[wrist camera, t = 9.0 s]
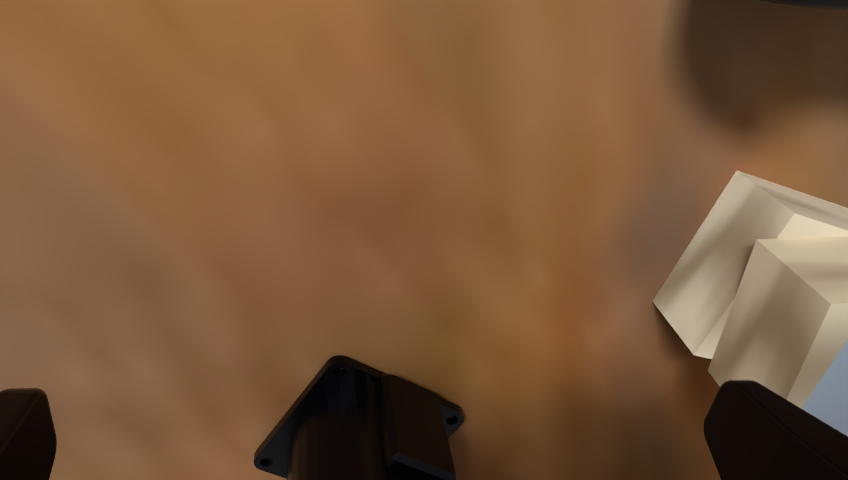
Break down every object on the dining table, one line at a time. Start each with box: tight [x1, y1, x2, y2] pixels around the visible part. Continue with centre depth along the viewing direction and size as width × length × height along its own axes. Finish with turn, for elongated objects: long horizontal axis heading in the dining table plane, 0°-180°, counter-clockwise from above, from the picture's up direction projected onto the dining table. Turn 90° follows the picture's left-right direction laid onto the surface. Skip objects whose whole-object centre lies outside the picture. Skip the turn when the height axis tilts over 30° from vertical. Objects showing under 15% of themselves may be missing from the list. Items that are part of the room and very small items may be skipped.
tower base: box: [653, 171, 848, 359], centre depth 24 cm, size 6×6×4 cm
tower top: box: [708, 237, 848, 408], centre depth 21 cm, size 6×6×4 cm
